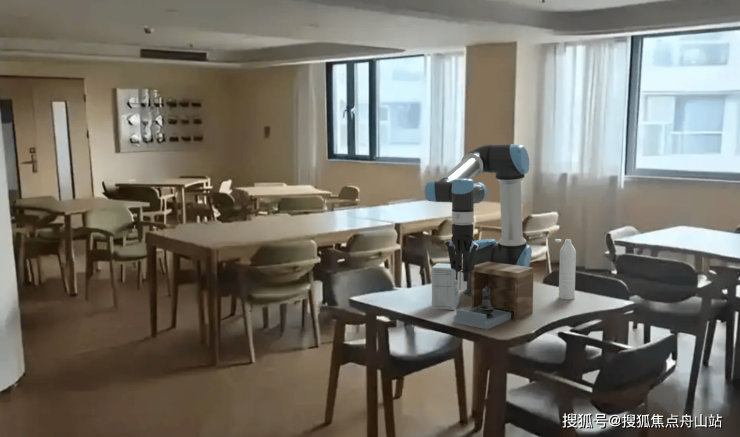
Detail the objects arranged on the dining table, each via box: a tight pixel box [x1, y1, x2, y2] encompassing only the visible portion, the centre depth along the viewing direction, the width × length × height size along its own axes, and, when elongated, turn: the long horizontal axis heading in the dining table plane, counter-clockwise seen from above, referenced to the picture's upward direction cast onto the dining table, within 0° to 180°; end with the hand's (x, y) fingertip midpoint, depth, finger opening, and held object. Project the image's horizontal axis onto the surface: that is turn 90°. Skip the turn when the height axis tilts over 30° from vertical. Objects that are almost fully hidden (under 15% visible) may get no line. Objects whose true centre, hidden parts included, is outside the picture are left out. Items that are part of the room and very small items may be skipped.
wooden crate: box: [470, 262, 535, 321], centre depth 253 cm, size 20×12×18 cm, turn 49°
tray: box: [453, 306, 512, 330], centre depth 243 cm, size 14×17×5 cm
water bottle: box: [554, 238, 577, 301], centre depth 274 cm, size 9×6×25 cm
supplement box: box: [431, 262, 460, 311], centre depth 263 cm, size 10×9×17 cm
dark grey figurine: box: [478, 285, 495, 319], centre depth 245 cm, size 6×6×12 cm
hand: (462, 289), depth 231 cm, fingers closed
